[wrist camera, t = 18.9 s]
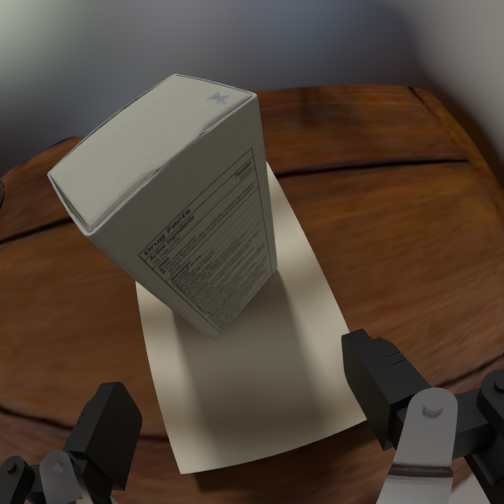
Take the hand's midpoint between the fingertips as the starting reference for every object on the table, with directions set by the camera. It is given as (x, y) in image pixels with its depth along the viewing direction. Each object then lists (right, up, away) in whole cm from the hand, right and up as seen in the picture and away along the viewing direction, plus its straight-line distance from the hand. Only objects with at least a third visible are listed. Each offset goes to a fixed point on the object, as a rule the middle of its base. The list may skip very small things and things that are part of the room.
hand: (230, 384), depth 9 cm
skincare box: (-1, +2, +9) cm, 9 cm away
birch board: (0, +1, +10) cm, 10 cm away
